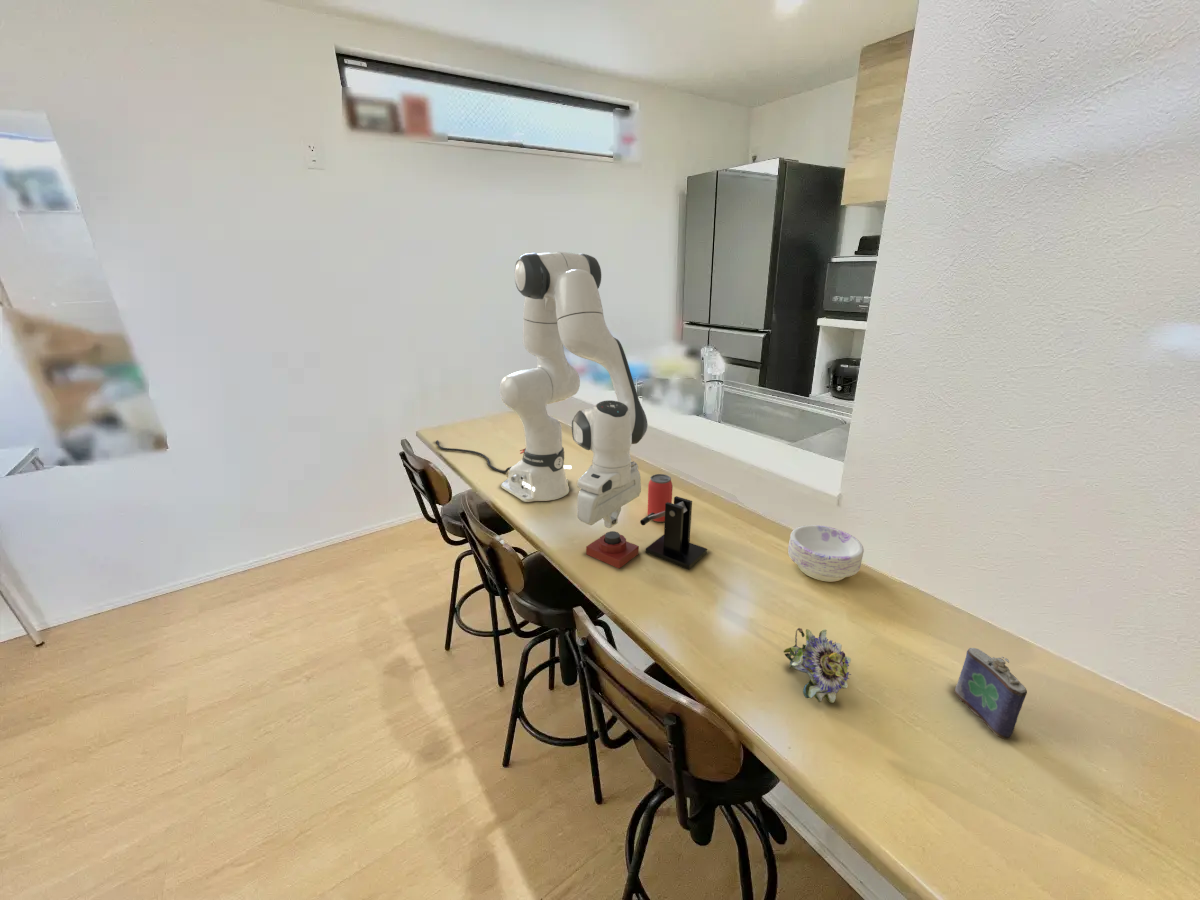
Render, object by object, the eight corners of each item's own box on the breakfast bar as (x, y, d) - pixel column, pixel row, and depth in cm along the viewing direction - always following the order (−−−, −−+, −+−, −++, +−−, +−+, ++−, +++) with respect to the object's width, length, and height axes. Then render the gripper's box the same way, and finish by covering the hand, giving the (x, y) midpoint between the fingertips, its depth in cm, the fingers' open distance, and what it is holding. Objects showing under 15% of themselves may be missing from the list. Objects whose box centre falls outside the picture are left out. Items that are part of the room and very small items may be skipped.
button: (602, 541, 119) (601, 535, 118) (611, 535, 121) (611, 529, 121) (613, 546, 116) (613, 540, 116) (622, 540, 119) (622, 534, 118)
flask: (950, 690, 81) (967, 638, 77) (966, 688, 81) (983, 636, 77) (1000, 741, 72) (1022, 685, 68) (1018, 738, 73) (1040, 682, 69)
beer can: (670, 524, 134) (672, 483, 130) (646, 521, 135) (647, 481, 131) (671, 512, 140) (673, 474, 136) (648, 510, 141) (649, 472, 137)
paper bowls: (853, 558, 117) (859, 529, 115) (862, 596, 104) (869, 564, 101) (785, 547, 122) (789, 519, 119) (786, 582, 109) (790, 551, 106)
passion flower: (823, 723, 81) (822, 709, 73) (768, 675, 88) (760, 657, 80) (863, 670, 84) (866, 650, 75) (805, 627, 91) (802, 604, 82)
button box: (586, 554, 120) (586, 540, 119) (606, 540, 126) (606, 527, 125) (619, 568, 114) (619, 553, 113) (638, 553, 120) (639, 539, 119)
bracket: (645, 552, 121) (646, 501, 116) (664, 537, 127) (666, 489, 122) (688, 569, 114) (692, 516, 109) (706, 553, 120) (710, 502, 115)
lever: (642, 527, 122) (638, 519, 122) (653, 520, 125) (649, 511, 125) (679, 516, 113) (675, 506, 113) (690, 508, 117) (686, 499, 117)
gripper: (626, 456, 122) (625, 505, 127) (572, 483, 107) (573, 538, 112) (648, 462, 118) (646, 513, 123) (594, 491, 103) (594, 547, 108)
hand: (611, 525), depth 118 cm, fingers closed
